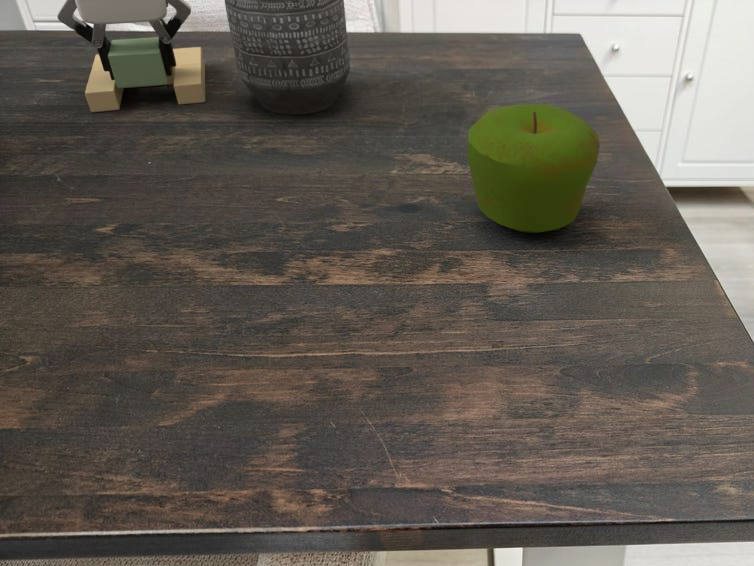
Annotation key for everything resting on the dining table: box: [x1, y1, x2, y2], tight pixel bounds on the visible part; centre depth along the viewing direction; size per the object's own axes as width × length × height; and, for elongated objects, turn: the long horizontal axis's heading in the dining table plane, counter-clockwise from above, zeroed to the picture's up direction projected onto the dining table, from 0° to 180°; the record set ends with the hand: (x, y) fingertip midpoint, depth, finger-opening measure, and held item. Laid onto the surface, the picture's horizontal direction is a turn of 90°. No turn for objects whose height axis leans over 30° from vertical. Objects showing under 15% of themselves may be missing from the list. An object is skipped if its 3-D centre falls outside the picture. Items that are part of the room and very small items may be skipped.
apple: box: [467, 103, 601, 234], centre depth 73 cm, size 12×12×11 cm
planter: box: [224, 0, 351, 116], centre depth 94 cm, size 14×14×15 cm
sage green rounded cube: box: [108, 36, 168, 89], centre depth 96 cm, size 6×6×4 cm
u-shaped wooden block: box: [84, 46, 206, 113], centre depth 100 cm, size 14×14×2 cm
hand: (142, 72), depth 97 cm, fingers closed on sage green rounded cube, 6 cm apart
